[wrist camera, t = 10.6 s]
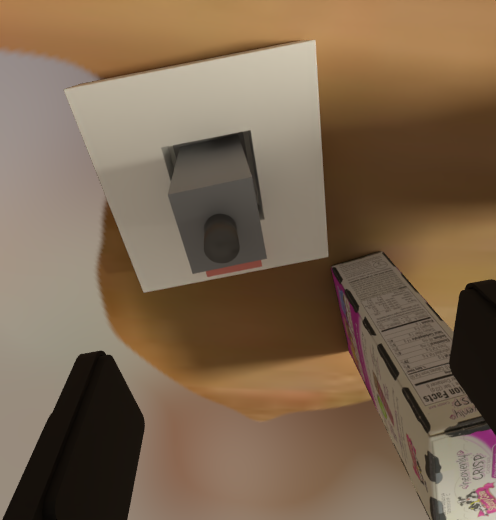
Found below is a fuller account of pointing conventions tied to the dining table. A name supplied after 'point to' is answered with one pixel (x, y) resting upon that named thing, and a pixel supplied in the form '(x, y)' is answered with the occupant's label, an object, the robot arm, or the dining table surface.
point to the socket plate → (201, 130)
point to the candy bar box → (417, 389)
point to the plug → (216, 205)
